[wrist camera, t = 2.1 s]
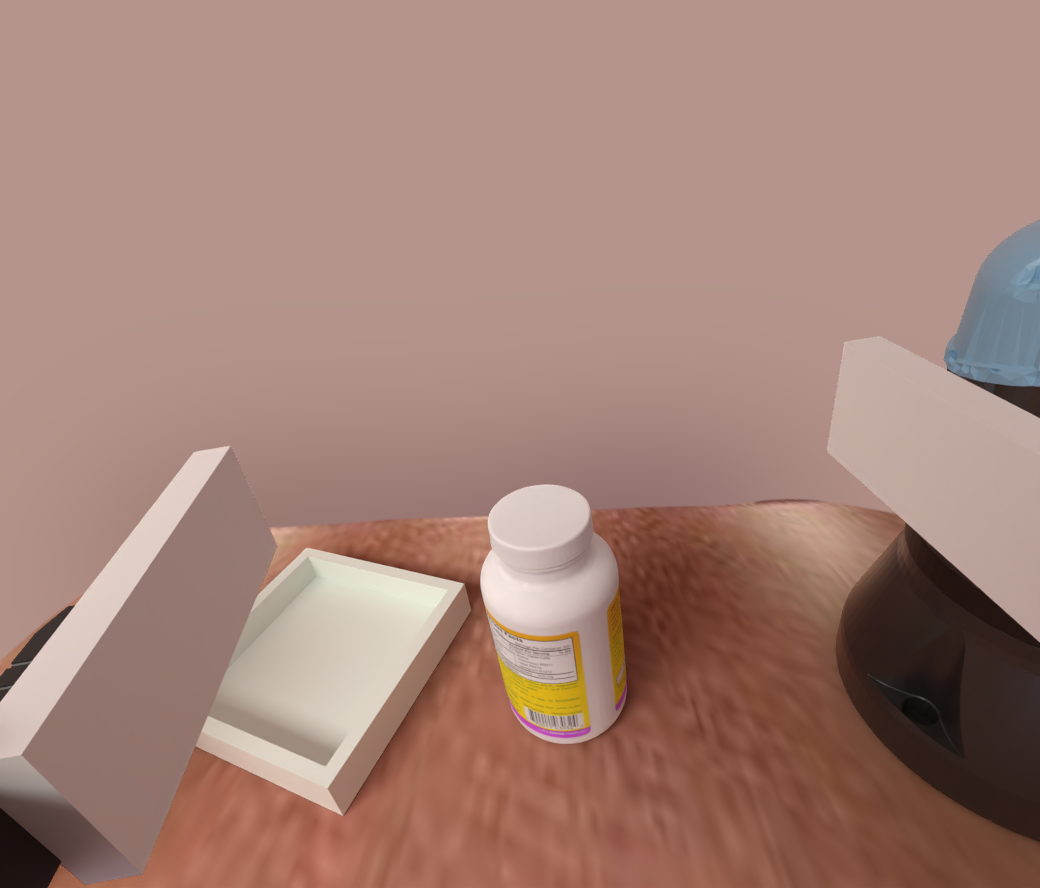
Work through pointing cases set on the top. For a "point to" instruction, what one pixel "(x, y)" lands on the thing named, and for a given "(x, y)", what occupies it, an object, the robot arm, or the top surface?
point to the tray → (330, 672)
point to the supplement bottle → (555, 614)
